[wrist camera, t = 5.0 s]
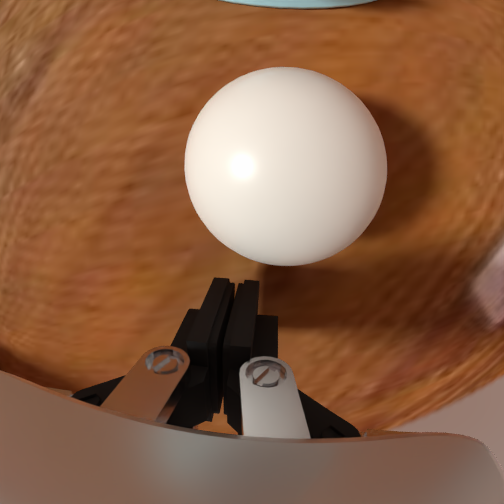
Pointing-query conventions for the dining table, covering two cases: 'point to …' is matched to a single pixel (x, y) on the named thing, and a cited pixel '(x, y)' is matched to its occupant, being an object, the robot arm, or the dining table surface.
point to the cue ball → (285, 166)
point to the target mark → (299, 3)
